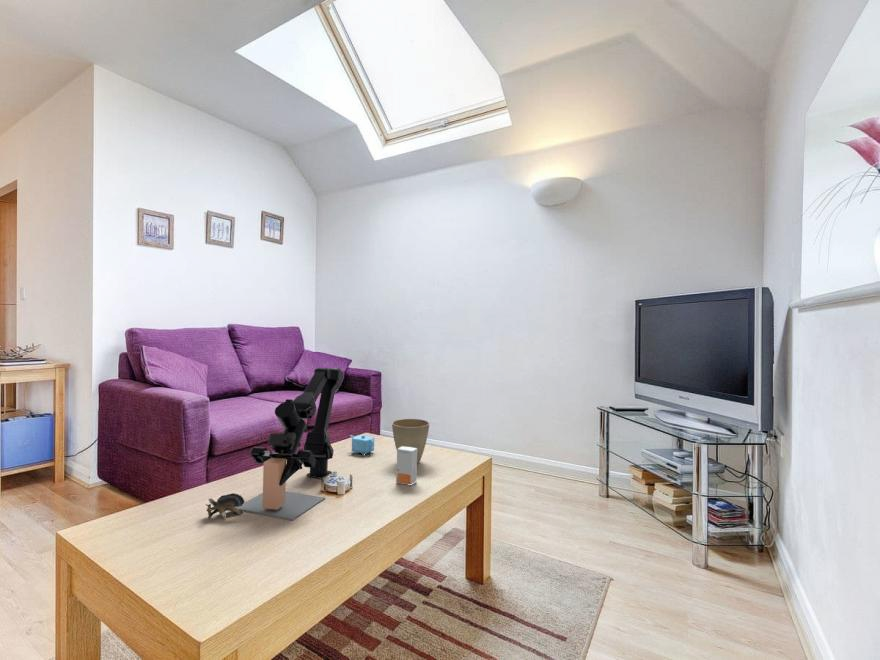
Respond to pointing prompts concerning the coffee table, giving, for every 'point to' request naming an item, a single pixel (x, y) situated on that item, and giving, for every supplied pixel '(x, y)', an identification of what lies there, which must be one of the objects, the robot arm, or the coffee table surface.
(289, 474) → the robot arm
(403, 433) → the plant pot
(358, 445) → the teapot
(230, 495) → the grey brown animal figure
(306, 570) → the coffee table surface
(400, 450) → the skincare box
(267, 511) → the mat
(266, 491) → the block
